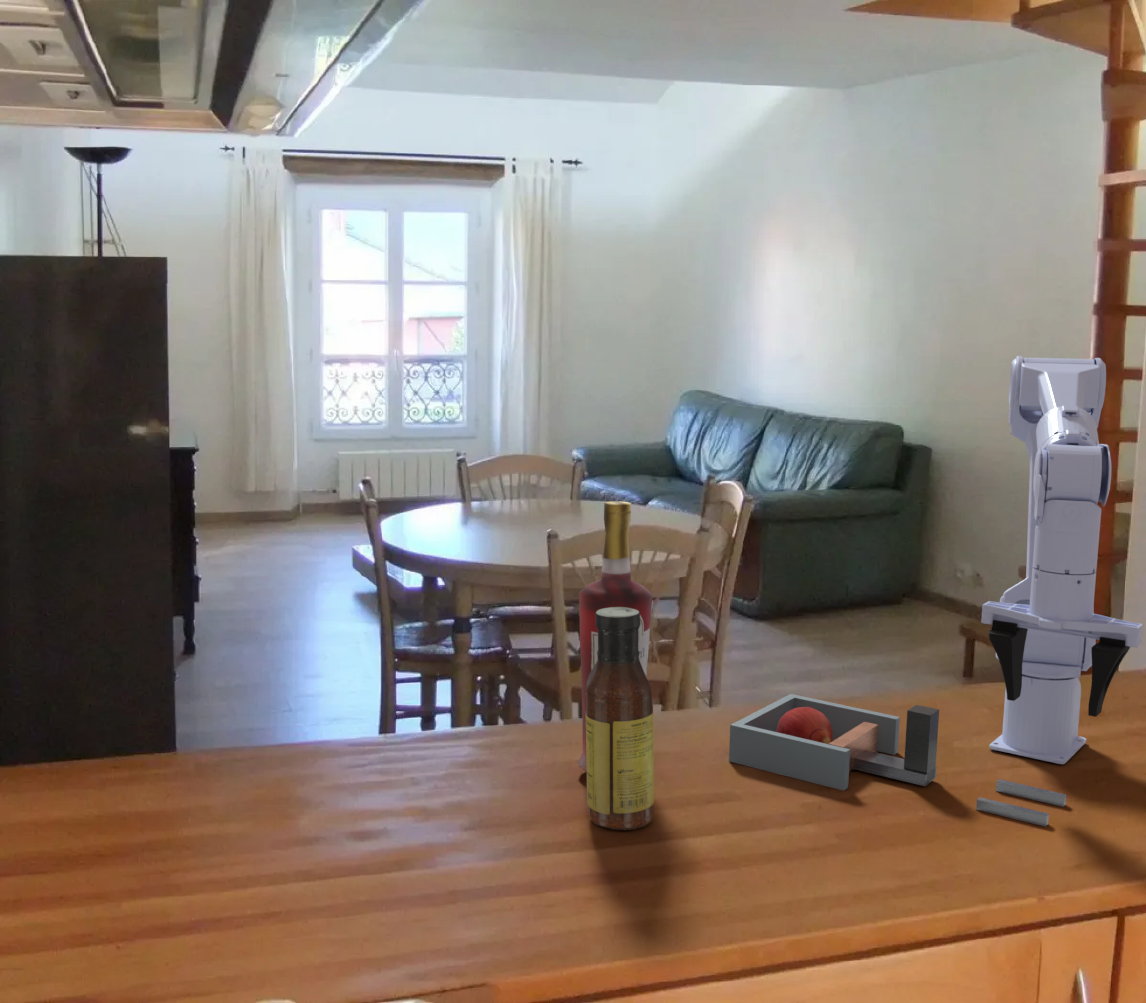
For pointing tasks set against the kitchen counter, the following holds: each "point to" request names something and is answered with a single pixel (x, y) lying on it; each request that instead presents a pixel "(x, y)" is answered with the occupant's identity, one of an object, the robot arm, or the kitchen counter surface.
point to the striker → (917, 748)
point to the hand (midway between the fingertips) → (1053, 705)
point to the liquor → (611, 598)
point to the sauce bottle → (619, 726)
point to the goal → (806, 741)
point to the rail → (1021, 812)
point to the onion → (806, 725)
